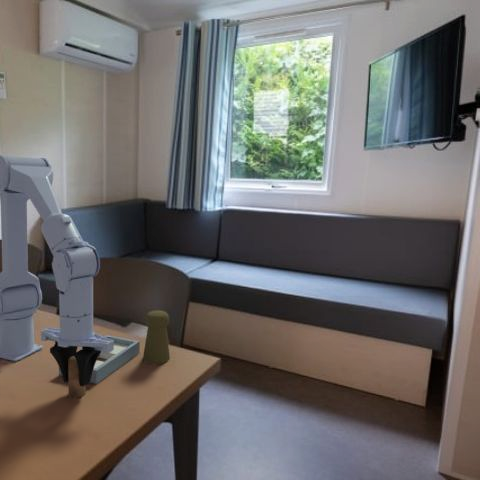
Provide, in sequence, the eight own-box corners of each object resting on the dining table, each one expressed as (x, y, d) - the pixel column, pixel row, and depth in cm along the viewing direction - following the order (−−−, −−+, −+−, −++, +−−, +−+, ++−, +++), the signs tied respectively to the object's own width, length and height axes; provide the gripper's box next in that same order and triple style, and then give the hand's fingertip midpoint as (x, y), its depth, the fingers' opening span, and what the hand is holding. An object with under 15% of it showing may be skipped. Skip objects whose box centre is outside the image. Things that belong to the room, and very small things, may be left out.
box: (59, 375, 85) (58, 362, 85) (106, 345, 100) (106, 334, 100) (96, 383, 82) (96, 370, 82) (139, 352, 98) (139, 341, 97)
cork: (164, 365, 92) (165, 318, 90) (138, 362, 93) (139, 314, 91) (173, 354, 98) (175, 309, 96) (149, 351, 99) (150, 306, 97)
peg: (64, 396, 78) (64, 360, 76) (75, 388, 80) (75, 354, 79) (78, 399, 77) (78, 363, 76) (89, 391, 80) (89, 357, 78)
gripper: (27, 312, 74) (29, 384, 76) (96, 325, 70) (96, 400, 72) (55, 302, 81) (56, 367, 83) (120, 313, 77) (119, 382, 79)
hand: (77, 381), depth 78 cm, fingers closed on peg, 3 cm apart
